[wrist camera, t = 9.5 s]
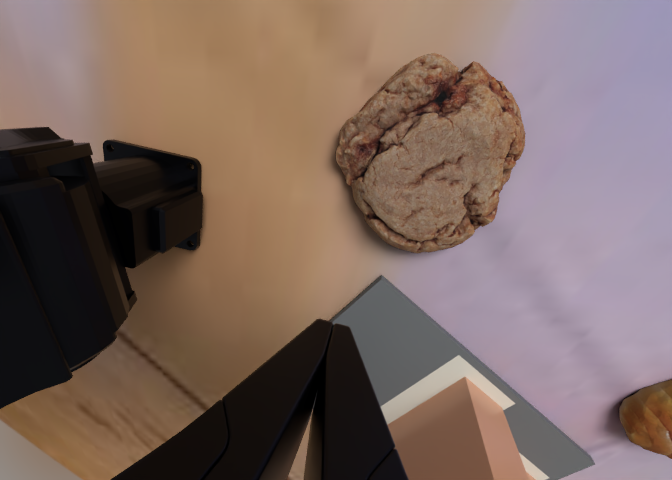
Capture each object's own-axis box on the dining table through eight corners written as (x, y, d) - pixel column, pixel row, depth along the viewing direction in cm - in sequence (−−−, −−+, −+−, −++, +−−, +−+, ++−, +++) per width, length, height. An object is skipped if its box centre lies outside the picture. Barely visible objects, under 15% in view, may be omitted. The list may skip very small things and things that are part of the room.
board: (272, 371, 27) (270, 376, 26) (381, 274, 22) (381, 279, 21) (458, 512, 30) (460, 519, 30) (590, 456, 25) (595, 464, 25)
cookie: (366, 256, 22) (362, 278, 19) (321, 92, 18) (309, 90, 16) (526, 226, 19) (548, 246, 17) (509, 30, 16) (534, 15, 13)
